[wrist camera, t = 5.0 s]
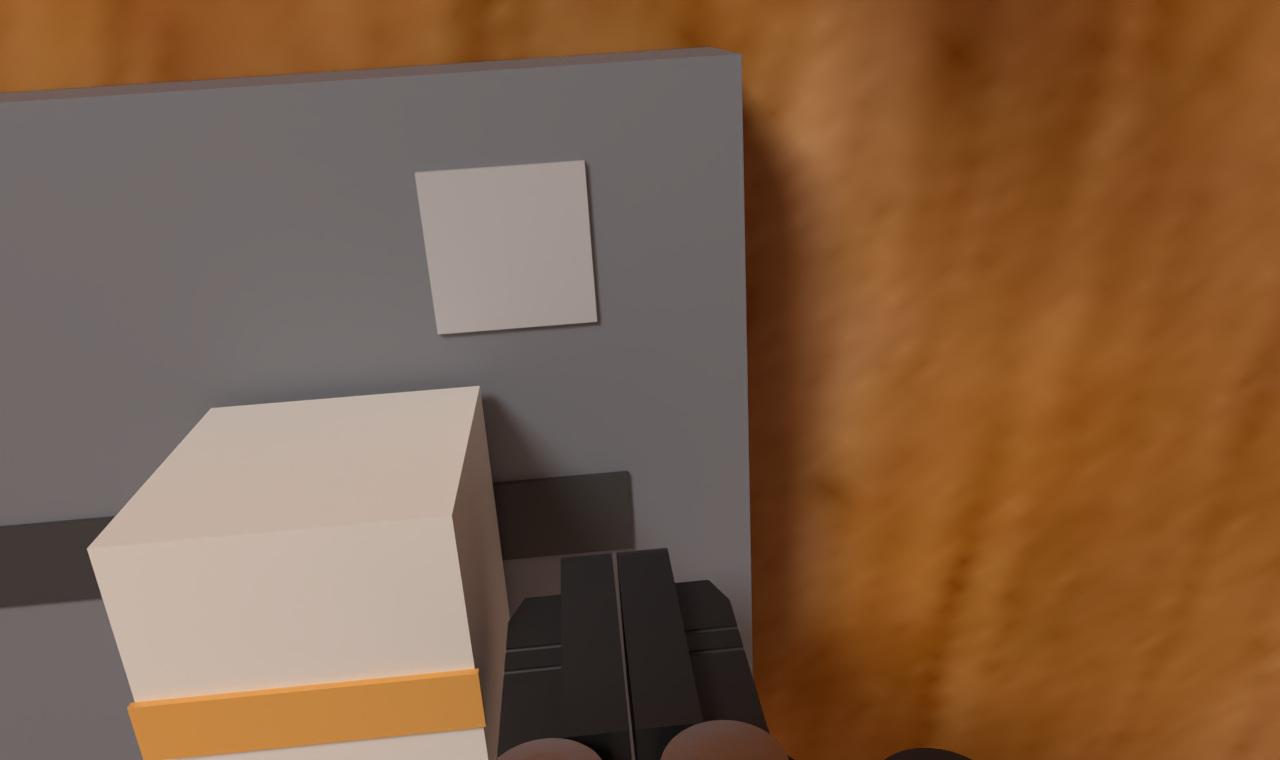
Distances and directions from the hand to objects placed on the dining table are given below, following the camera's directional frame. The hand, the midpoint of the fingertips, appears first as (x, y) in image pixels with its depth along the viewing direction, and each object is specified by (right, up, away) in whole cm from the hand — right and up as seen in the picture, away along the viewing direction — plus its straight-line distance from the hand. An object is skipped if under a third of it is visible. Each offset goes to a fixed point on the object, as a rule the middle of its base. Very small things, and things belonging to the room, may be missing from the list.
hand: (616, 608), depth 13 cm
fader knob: (-4, +1, +2) cm, 4 cm away
